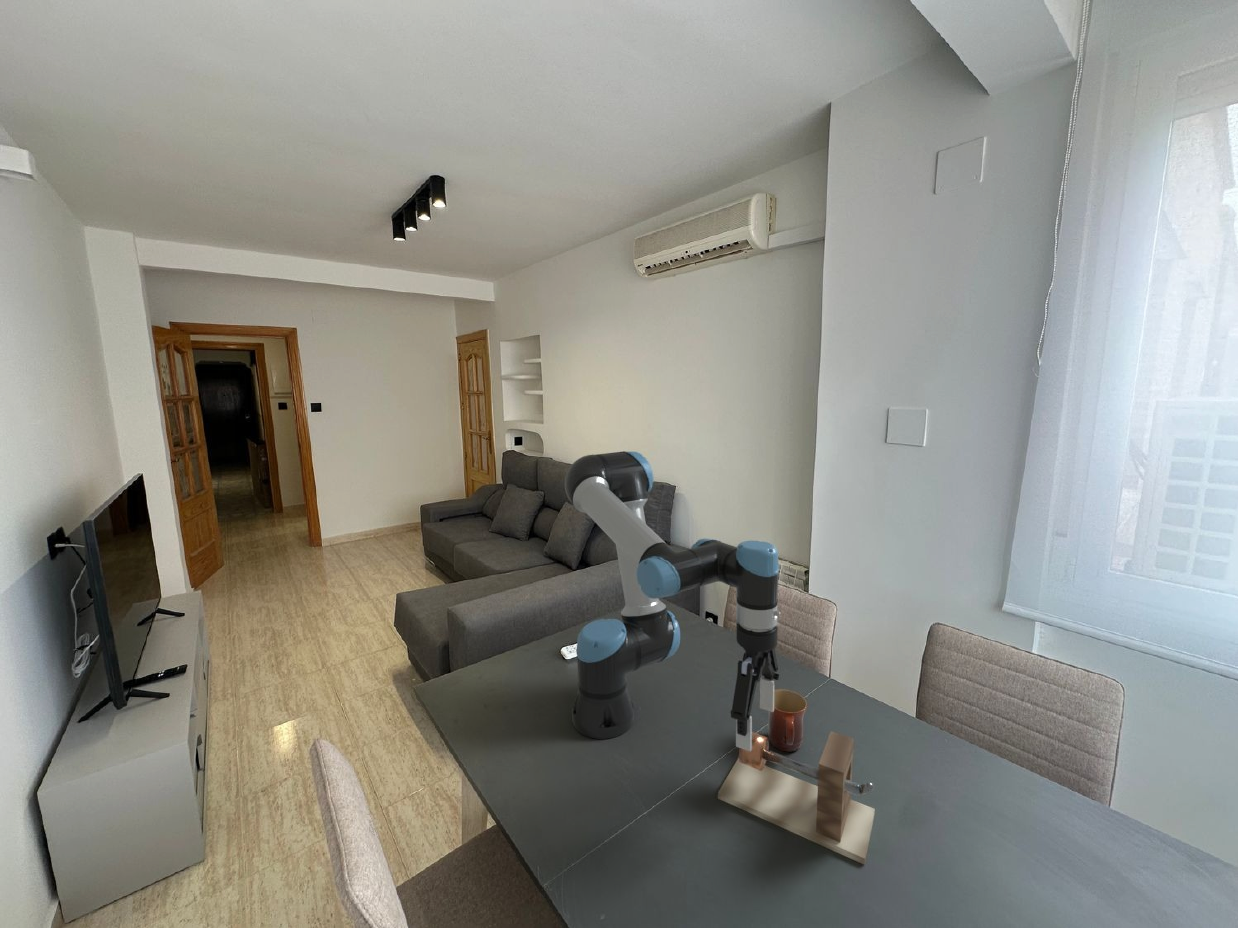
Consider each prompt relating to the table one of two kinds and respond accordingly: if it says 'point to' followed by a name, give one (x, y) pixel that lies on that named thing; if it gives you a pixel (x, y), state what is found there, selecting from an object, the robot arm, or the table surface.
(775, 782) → the board
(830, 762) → the eye block
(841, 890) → the table surface
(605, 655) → the robot arm
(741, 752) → the copper and grey mallet
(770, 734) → the mug
